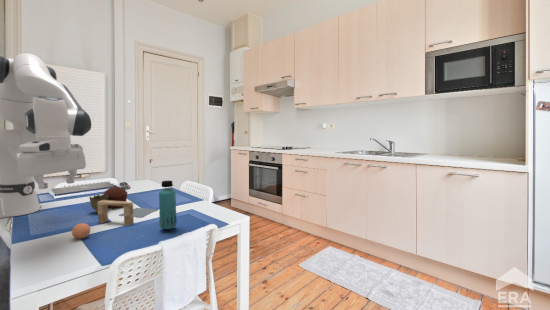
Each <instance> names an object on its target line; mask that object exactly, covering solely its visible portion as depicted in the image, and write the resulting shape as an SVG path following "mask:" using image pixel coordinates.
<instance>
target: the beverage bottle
mask: <svg viewBox="0 0 550 310" xmlns="http://www.w3.org/2000/svg"><path fill="white" fill-rule="evenodd" d="M160 186H161V187H162V188H163V189H161V190H160V191H159V192H158V198H159V199H158V201H159V203H158V205H159V213H158V214H159V227H160V229H161V230H170V229H173V228H174V229H175V228H176V227H177V222H178V221H177V197H176V190H175V189H173V188H171V187H173V186H174V185H173V180H162V181H161V185H160Z"/></svg>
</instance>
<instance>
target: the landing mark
mask: <svg viewBox="0 0 550 310" xmlns="http://www.w3.org/2000/svg"><path fill="white" fill-rule="evenodd" d="M158 210H159V209H157V208H145V207H144V208H143V207H135V208H133V218H134V217H135V218H144V217H146V216H147V215H150V214H152V213H154V212H157V211H158ZM118 216H120V217H124V212H123V213H121V214H118Z"/></svg>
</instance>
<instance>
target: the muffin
mask: <svg viewBox="0 0 550 310" xmlns="http://www.w3.org/2000/svg"><path fill="white" fill-rule="evenodd" d="M102 195H103V196H104V195H107V196H108V200H112V201H126V202H127V200H128V199H127V198H128V191H127V190H126V189H125V188H123V187H121V186H114V187H109V188H107V189H106V190H105V191H104V192H103V194H102ZM107 207H108V210H116V209H117V210H119V209H122V208H124V206H112V205H107Z"/></svg>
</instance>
